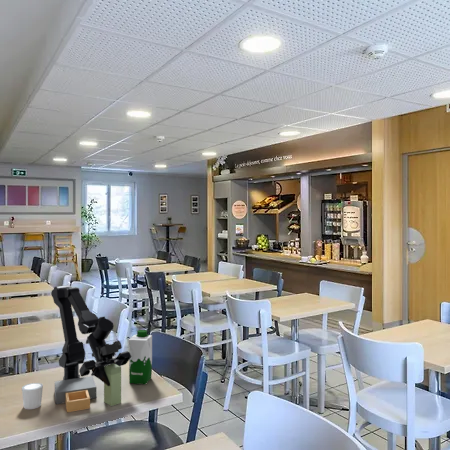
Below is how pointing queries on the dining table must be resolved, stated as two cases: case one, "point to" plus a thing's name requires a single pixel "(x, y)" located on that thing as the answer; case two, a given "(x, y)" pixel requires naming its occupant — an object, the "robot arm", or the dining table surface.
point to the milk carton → (140, 358)
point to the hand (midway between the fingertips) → (114, 383)
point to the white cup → (32, 395)
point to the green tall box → (113, 385)
